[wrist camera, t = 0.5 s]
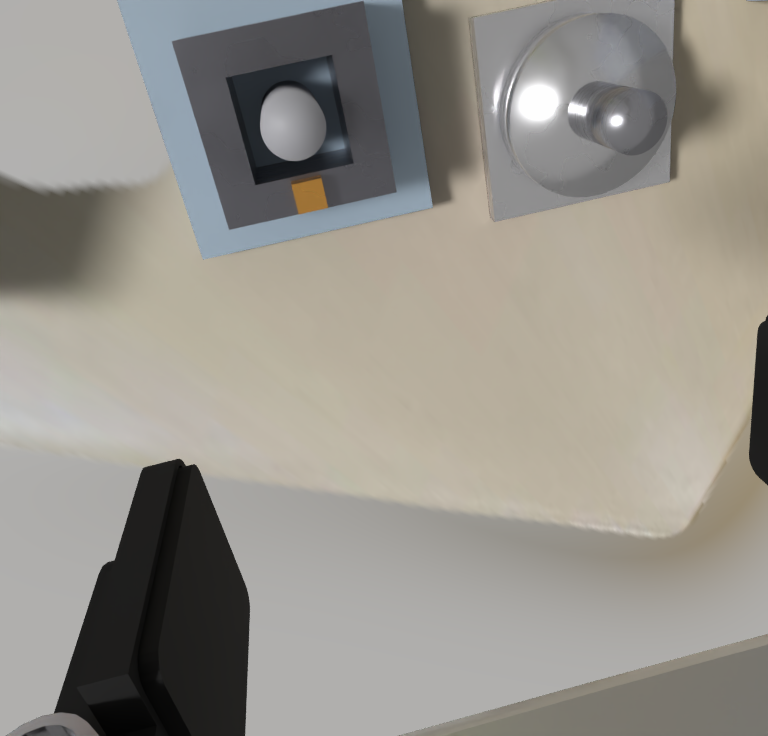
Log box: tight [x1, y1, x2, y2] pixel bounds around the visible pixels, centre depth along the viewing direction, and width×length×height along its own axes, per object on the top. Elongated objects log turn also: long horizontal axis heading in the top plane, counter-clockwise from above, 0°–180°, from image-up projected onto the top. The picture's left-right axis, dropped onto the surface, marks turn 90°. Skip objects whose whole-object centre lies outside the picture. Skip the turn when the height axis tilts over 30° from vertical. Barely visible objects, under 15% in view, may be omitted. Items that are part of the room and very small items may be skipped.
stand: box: [117, 0, 433, 259], centre depth 27 cm, size 11×11×6 cm
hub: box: [469, 0, 676, 222], centre depth 29 cm, size 9×9×6 cm
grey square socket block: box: [172, 1, 397, 230], centre depth 27 cm, size 7×7×4 cm
